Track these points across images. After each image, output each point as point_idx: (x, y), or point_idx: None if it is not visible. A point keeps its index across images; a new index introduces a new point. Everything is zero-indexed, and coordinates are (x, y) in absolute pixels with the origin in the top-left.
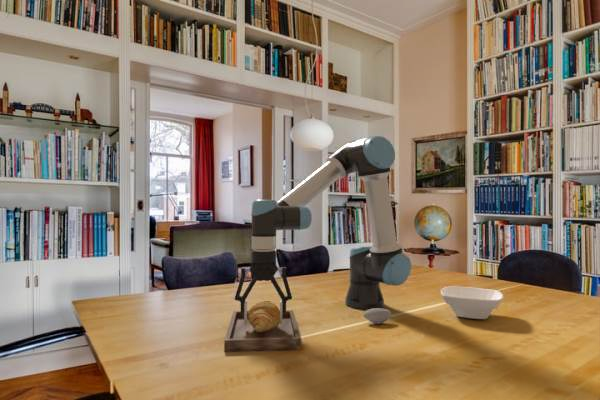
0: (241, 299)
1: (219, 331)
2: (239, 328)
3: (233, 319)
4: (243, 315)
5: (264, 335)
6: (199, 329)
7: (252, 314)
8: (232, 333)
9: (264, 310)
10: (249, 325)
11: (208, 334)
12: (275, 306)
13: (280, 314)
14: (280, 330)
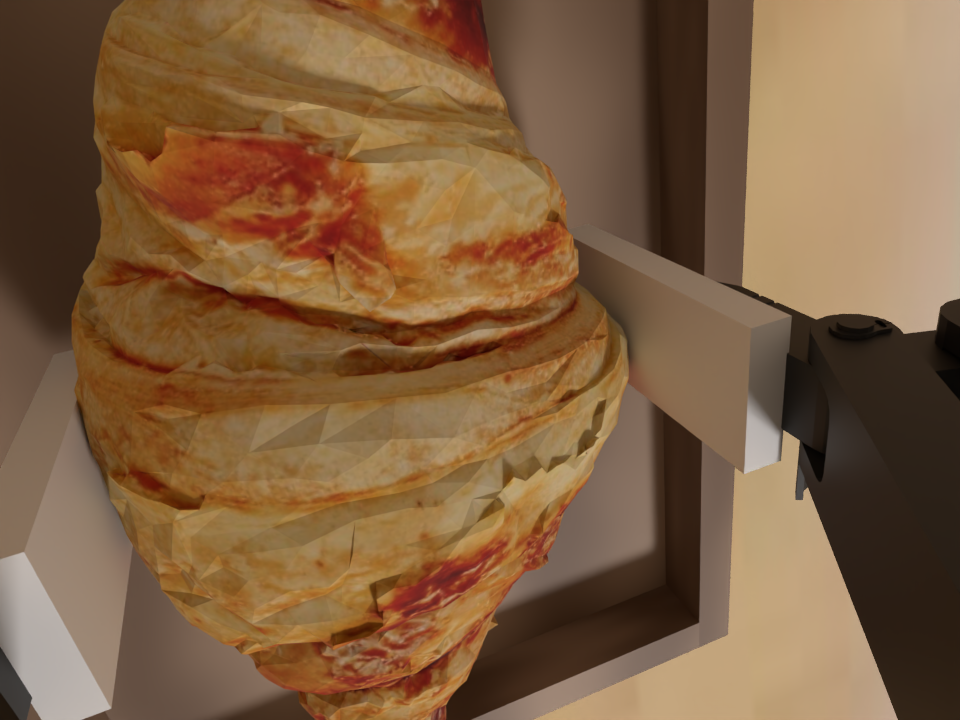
0: (890, 330)
1: (761, 270)
2: None
3: None
4: (622, 622)
5: None
6: (904, 291)
7: (548, 184)
8: (661, 106)
9: (346, 200)
10: None
11: (842, 170)
12: (176, 507)
13: (60, 409)
14: None
